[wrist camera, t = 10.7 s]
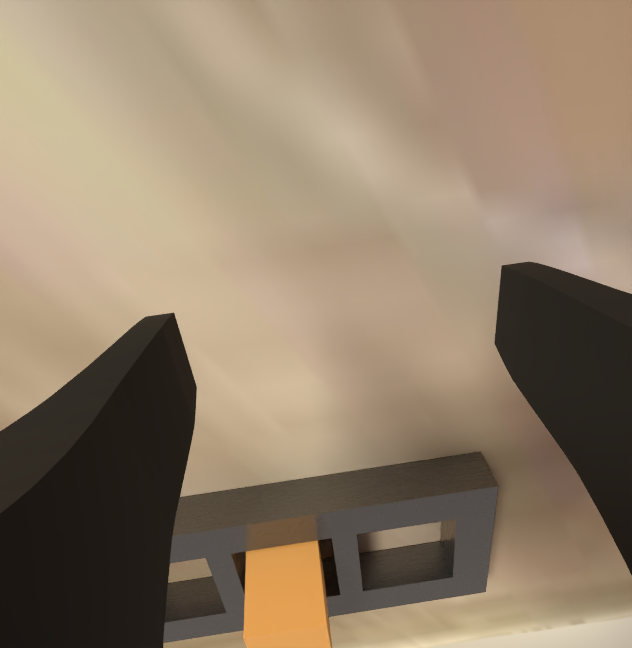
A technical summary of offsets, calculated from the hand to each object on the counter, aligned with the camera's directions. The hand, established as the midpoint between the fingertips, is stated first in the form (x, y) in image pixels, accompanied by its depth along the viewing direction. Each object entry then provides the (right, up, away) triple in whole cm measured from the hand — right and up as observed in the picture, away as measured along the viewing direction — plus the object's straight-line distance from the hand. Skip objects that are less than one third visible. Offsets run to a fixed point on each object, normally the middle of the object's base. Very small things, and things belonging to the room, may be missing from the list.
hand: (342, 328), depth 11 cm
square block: (-2, -13, +20) cm, 23 cm away
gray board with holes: (-2, -13, +20) cm, 24 cm away
